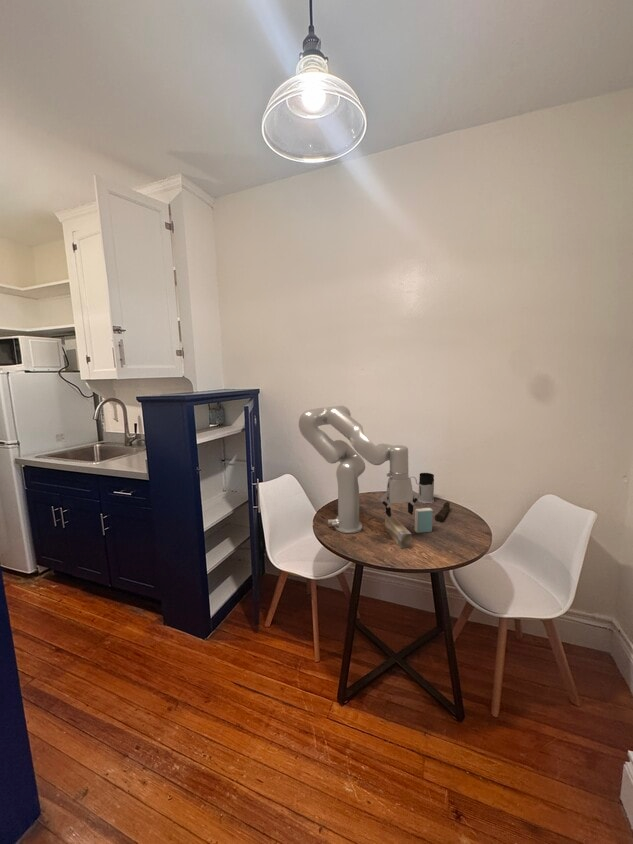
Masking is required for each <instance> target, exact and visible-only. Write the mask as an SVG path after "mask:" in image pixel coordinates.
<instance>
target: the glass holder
mask: <svg viewBox="0 0 633 844" xmlns="http://www.w3.org/2000/svg"><path fill="white" fill-rule="evenodd" d="M409 478H410V479H411V478H413V479H415V484H417V485H418V494H419V497H418V499H417V501H418V503H421V502H422V503H421V504H425V503H431V504H433V503H432V502H434V503H435V500H434V489H435V488H434V487H435V475H434V474H433V473H429V472H421V473H419V478H418V479H419V481H417V478H416V477H415V476H410V477H409ZM417 482H418V483H417Z"/></svg>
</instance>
